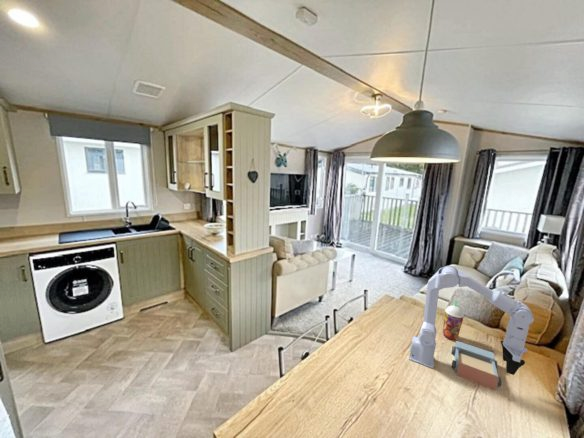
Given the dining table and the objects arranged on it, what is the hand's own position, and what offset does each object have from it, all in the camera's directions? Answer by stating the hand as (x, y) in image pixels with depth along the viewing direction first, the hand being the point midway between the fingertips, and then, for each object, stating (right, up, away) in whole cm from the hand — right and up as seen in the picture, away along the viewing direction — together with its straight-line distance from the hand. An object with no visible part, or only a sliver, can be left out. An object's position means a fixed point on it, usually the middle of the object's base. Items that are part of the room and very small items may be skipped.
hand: (508, 366), depth 99 cm
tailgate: (-9, -9, +5) cm, 14 cm away
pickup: (-4, -8, +13) cm, 16 cm away
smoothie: (-2, -4, +34) cm, 34 cm away
